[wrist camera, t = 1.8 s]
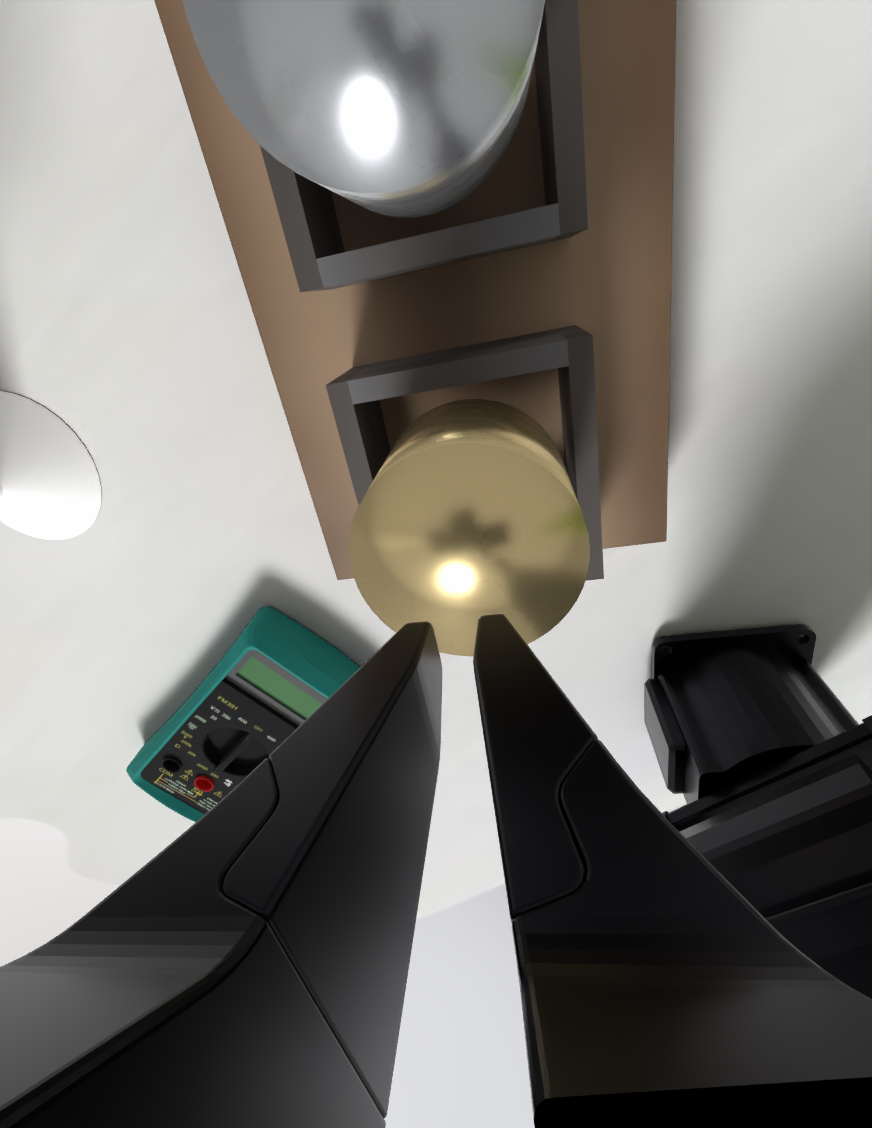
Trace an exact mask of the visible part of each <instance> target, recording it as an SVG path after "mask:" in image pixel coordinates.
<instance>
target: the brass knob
mask: <svg viewBox="0 0 872 1128" xmlns="http://www.w3.org/2000/svg"><path fill="white" fill-rule="evenodd" d="M349 552H350V563H351V567H352V572H353V576H354V578H355V581H356V584H357V586H358V589H359V590H360V592H361V594H362V596H363V598H364V600H365V601H366V602H367V604H368V605H369V607H370V608H371V609H372V611H373V612H374V613H375V614H376V615H377V616H378V617H379V618H380V620H381V621H383V622H384V623H385V624H386V625H387V626H388V627H390V628H391V629H392V630H393V631H395V632H396V633H397V632H398V631H399V630H400V629H401V628H402V627H403V626H404V625H405V624H407V623H413V622H423V621H429V622H430V623H431V624H432V626H433V629H434V633H435V637H436V641H437V646H438V650H439V652H441V653H446V654H452V655H461V656H474V648H475V640H476V632H477V624H478V619H479V617H480V616H483V615H493V614H503V615H505V616H506V617H507V619H508V620H509V621H510V623H511V624H512V625H513V627H514V628H515V629H516V631H517V632H518V633H519V635H520V636H521V637H522V638H523V640H524V641H525V642H526V644H528V643H530V642H532V641H534V640H536V639H538V638H539V637H541V636H543V635H544V634H546V633H547V632H549V631H550V630H551V629H552V628H553V627H554V626H556V625H557V624H558V623H559V622H560V621H561V620H562V619H563V618H564V617H565V616H566V614H567V613H568V612H569V611H570V609H571V608H572V606H573V605H574V604H575V602H576V601H577V599H578V597H579V595H580V593H581V591H582V589H583V586H584V583H585V580H586V577H587V573H588V567H589V561H590V544H589V536H588V531H587V527H586V524H585V520H584V517H583V515H582V512H581V509H580V506H579V504H578V501H577V498H576V496H575V493H574V490H573V487H572V485H571V482H570V479H569V477H568V474H567V471H566V468H565V466H564V463H563V460H562V458H561V455H560V453H559V451H558V449H557V446H556V445H555V443H554V442H553V440H552V438H551V437H550V435H549V434H548V433H547V432H546V431H545V430H544V428H543V427H542V426H541V425H540V424H539V423H537V422H536V421H535V420H534V419H533V418H532V417H530V416H528V415H527V414H525V413H524V412H522V411H521V410H519V409H516V408H514V407H512V406H510V405H507V404H504V403H500V402H497V401H491V400H485V399H466V400H458V401H453V402H449V403H445V404H443V405H440V406H438V407H435V408H433V409H431V410H430V411H428V412H426V413H424V414H423V415H421V416H420V417H419V418H417V419H416V420H415V421H413V422H412V423H411V424H410V425H409V426H408V427H407V428H406V429H405V430H404V432H403V433H402V434H401V435H400V437H399V438H398V439H397V441H396V443H395V445H394V446H393V448H392V450H391V451H390V453H389V455H388V456H387V458H386V460H385V462H384V463H383V465H382V467H381V468H380V470H379V472H378V474H377V475H376V477H375V479H374V480H373V482H372V484H371V486H370V487H369V489H368V491H367V492H366V494H365V496H364V498H363V499H362V501H361V503H360V505H359V507H358V509H357V511H356V514H355V517H354V519H353V523H352V528H351V532H350V543H349Z"/></svg>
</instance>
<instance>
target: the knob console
mask: <svg viewBox="0 0 872 1128" xmlns="http://www.w3.org/2000/svg"><path fill="white" fill-rule="evenodd" d="M155 4H156V7H157V10H158V13H159V16H160V19H161V23H162V26H163V29H164V32H165V35H166V38H167V42H168V45H169V48H170V51H171V54H172V57H173V61H174V64H175V67H176V70H177V73H178V76H179V80H180V83H181V86H182V89H183V92H184V95H185V98H186V102H187V105H188V108H189V111H190V114H191V117H192V121H193V124H194V127H195V130H196V133H197V136H198V140H199V143H200V146H201V149H202V152H203V155H204V159H205V162H206V165H207V168H208V171H209V174H210V178H211V181H212V184H213V187H214V190H215V193H216V197H217V200H218V203H219V206H220V209H221V212H222V216H223V219H224V222H225V225H226V228H227V231H228V235H229V238H230V241H231V244H232V247H233V250H234V254H235V257H236V260H237V263H238V266H239V269H240V272H241V276H242V279H243V282H244V285H245V288H246V291H247V295H248V298H249V301H250V304H251V307H252V310H253V314H254V317H255V320H256V323H257V326H258V329H259V333H260V336H261V339H262V342H263V345H264V348H265V352H266V355H267V358H268V361H269V364H270V367H271V371H272V374H273V377H274V380H275V383H276V386H277V390H278V393H279V396H280V399H281V402H282V405H283V409H284V412H285V415H286V418H287V421H288V424H289V427H290V431H291V434H292V437H293V440H294V443H295V446H296V450H297V453H298V456H299V459H300V462H301V465H302V469H303V472H304V475H305V478H306V481H307V484H308V488H309V491H310V494H311V497H312V500H313V503H314V507H315V510H316V513H317V516H318V519H319V522H320V526H321V529H322V532H323V535H324V538H325V541H326V545H327V548H328V551H329V554H330V557H331V560H332V564H333V567H334V570H335V573H336V576H337V579H338V580H342V579H350V578H354V576H353V572H352V567H351V563H350V552H349V543H350V532H351V528H352V523H353V519H354V517H355V514H356V511H357V509H358V507H359V505H360V503H361V501H362V499H363V498H364V496H365V494H366V492H367V491H368V489H369V487H370V486H371V484H372V482H373V480H374V479H375V477H376V475H377V474H378V472H379V470H380V468H381V467H382V465H383V463H384V462H385V460H386V458H387V456H388V455H389V453H390V451H391V450H392V448H393V446H394V445H395V443H396V441H397V439H398V438H399V437H400V435H401V434H402V433H403V432H404V430H405V429H406V428H407V427H408V426H409V425H410V424H411V423H412V422H413V421H415V420H416V419H417V418H419V417H420V416H421V415H423V414H424V413H426V412H428V411H430V410H431V409H433V408H435V407H438V406H440V405H443V404H445V403H449V402H453V401H458V400H466V399H485V400H491V401H497V402H500V403H504V404H507V405H510V406H512V407H514V408H516V409H519V410H521V411H522V412H524V413H525V414H527V415H528V416H530V417H532V418H533V419H534V420H535V421H536V422H537V423H539V424H540V425H541V426H542V427H543V428H544V430H545V431H546V432H547V433H548V434H549V435H550V437H551V438H552V440H553V442H554V443H555V445H556V446H557V449H558V451H559V453H560V455H561V458H562V460H563V463H564V466H565V468H566V471H567V474H568V477H569V479H570V482H571V485H572V487H573V490H574V493H575V496H576V498H577V501H578V504H579V506H580V509H581V512H582V515H583V517H584V520H585V524H586V527H587V531H588V536H589V544H590V561H589V567H588V573H587V577H586V580H595V579H604V574H603V552H602V549H604V548H613V547H621V546H630V545H638V544H647V543H655V542H664V541H666V531H667V476H668V422H669V367H670V312H671V258H672V203H673V148H674V93H675V39H676V0H545V4H544V10H543V15H542V20H541V26H540V31H539V37H538V42H537V47H536V53H535V58H534V63H533V69H532V74H531V79H530V85H529V90H528V95H527V99H526V103H525V107H524V110H523V114H522V117H521V120H520V122H519V125H518V127H517V130H516V133H515V135H514V137H513V139H512V141H511V143H510V145H509V147H508V149H507V151H506V153H505V154H504V156H503V157H502V159H501V160H500V162H499V163H498V165H497V166H496V168H495V169H494V171H493V172H492V173H491V174H490V175H489V176H488V178H487V179H486V180H485V181H484V182H483V183H482V184H481V185H480V186H479V187H478V188H477V189H476V190H474V191H473V192H472V193H471V194H470V195H469V196H467V197H466V198H464V199H463V200H461V201H460V202H458V203H457V204H455V205H453V206H451V207H449V208H447V209H445V210H443V211H440V212H437V213H434V214H430V215H426V216H420V217H393V216H387V215H382V214H379V213H376V212H373V211H370V210H368V209H366V208H364V207H362V206H360V205H358V204H356V203H354V202H352V201H350V200H348V199H346V198H344V197H342V196H340V195H338V194H336V193H334V192H333V191H331V190H329V189H327V188H325V187H323V186H321V185H319V184H317V183H315V182H313V181H311V180H309V179H307V178H305V177H303V176H301V175H299V174H297V173H296V172H294V171H293V170H291V169H290V168H288V167H287V166H285V165H284V164H282V163H281V162H280V161H278V160H277V159H275V158H274V157H273V156H272V155H271V154H270V153H269V152H268V151H266V150H265V149H264V148H263V147H262V146H261V145H260V144H258V143H257V141H256V140H255V139H254V138H253V137H252V136H251V135H250V134H249V132H248V131H247V130H246V129H245V128H244V127H243V126H242V125H241V123H240V122H239V121H238V119H237V118H236V117H235V115H234V114H233V112H232V111H231V110H230V108H229V107H228V105H227V104H226V103H225V101H224V99H223V98H222V96H221V94H220V92H219V91H218V89H217V87H216V85H215V84H214V82H213V80H212V78H211V77H210V75H209V73H208V70H207V68H206V66H205V64H204V62H203V59H202V57H201V55H200V53H199V51H198V48H197V46H196V43H195V40H194V37H193V34H192V31H191V28H190V26H189V23H188V20H187V17H186V13H185V9H184V5H183V1H182V0H155ZM586 580H585V581H586Z"/></svg>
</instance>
